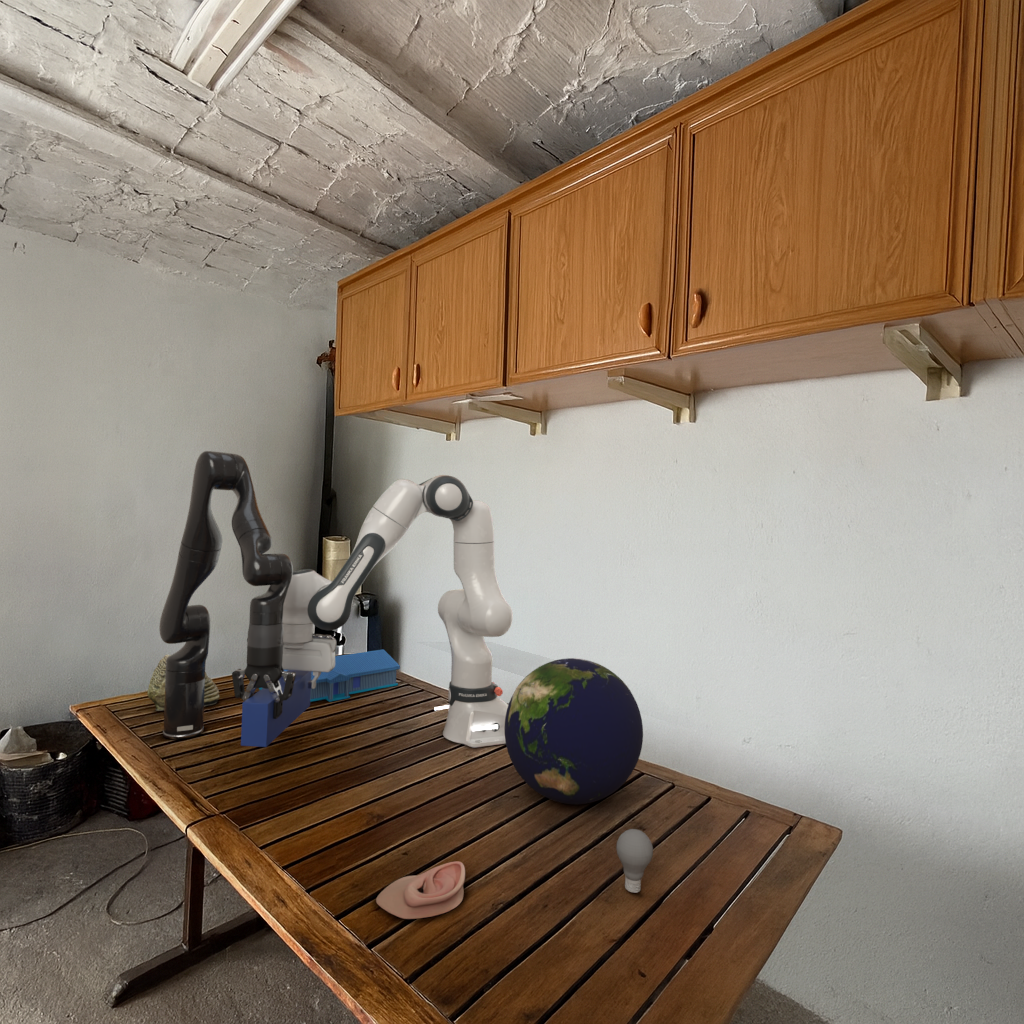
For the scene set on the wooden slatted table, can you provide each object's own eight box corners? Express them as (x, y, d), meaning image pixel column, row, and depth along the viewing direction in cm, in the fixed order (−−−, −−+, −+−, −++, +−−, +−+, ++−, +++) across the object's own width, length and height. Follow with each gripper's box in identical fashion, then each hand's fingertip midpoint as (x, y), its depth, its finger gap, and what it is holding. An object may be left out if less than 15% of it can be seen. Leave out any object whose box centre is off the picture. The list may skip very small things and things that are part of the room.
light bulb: (610, 879, 108) (613, 822, 108) (644, 879, 109) (647, 822, 109) (619, 902, 102) (622, 840, 102) (655, 901, 103) (658, 840, 103)
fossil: (144, 707, 182) (145, 655, 182) (212, 696, 194) (213, 647, 194) (151, 716, 175) (153, 662, 175) (221, 703, 188) (223, 653, 188)
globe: (478, 811, 130) (485, 666, 129) (529, 759, 158) (535, 639, 157) (623, 847, 119) (630, 688, 118) (650, 784, 146) (656, 655, 146)
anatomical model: (368, 886, 97) (397, 847, 108) (367, 912, 97) (396, 870, 108) (451, 901, 94) (471, 859, 106) (450, 928, 94) (470, 883, 106)
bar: (266, 747, 138) (268, 704, 138) (240, 745, 138) (242, 702, 138) (310, 705, 166) (311, 669, 166) (288, 704, 166) (290, 668, 166)
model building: (289, 709, 186) (291, 675, 185) (258, 688, 204) (259, 657, 204) (403, 687, 212) (405, 657, 212) (366, 670, 230) (368, 643, 230)
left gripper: (303, 640, 146) (300, 713, 146) (241, 637, 146) (238, 709, 146) (290, 648, 138) (287, 724, 139) (225, 644, 139) (223, 721, 139)
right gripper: (340, 632, 164) (337, 685, 164) (262, 628, 165) (259, 681, 165) (332, 637, 158) (330, 693, 158) (251, 632, 159) (249, 687, 159)
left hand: (262, 716), depth 143 cm, fingers closed on bar, 5 cm apart
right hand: (293, 686), depth 162 cm, fingers open, 8 cm apart
